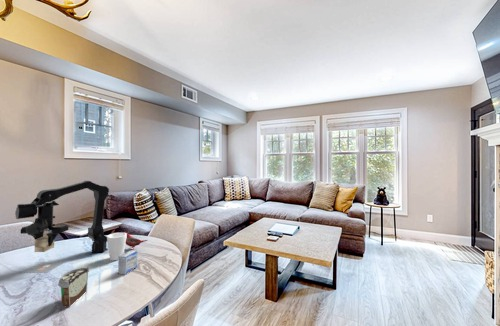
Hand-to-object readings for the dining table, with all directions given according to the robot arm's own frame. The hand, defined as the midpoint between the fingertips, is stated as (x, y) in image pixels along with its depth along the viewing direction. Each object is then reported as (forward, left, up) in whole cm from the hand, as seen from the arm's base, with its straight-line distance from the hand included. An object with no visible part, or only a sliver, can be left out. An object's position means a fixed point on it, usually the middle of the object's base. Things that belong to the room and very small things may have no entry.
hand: (44, 246), depth 111 cm
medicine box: (-43, +5, -11) cm, 45 cm away
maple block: (0, 0, -2) cm, 2 cm away
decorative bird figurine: (-34, -23, -11) cm, 43 cm away
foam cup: (-30, -10, -11) cm, 34 cm away
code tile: (0, 0, -11) cm, 11 cm away
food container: (-32, +28, -11) cm, 44 cm away
